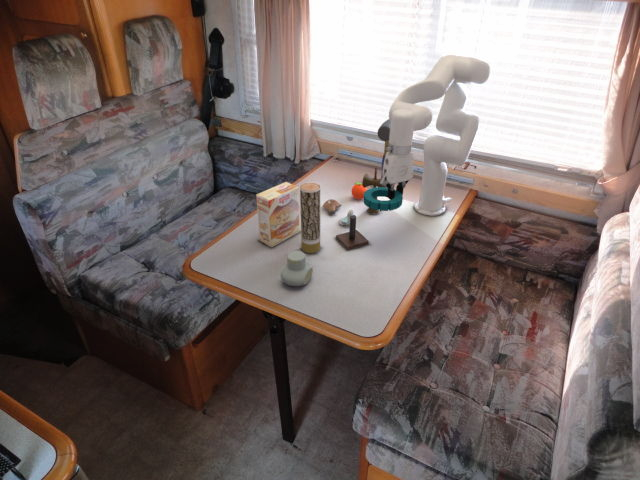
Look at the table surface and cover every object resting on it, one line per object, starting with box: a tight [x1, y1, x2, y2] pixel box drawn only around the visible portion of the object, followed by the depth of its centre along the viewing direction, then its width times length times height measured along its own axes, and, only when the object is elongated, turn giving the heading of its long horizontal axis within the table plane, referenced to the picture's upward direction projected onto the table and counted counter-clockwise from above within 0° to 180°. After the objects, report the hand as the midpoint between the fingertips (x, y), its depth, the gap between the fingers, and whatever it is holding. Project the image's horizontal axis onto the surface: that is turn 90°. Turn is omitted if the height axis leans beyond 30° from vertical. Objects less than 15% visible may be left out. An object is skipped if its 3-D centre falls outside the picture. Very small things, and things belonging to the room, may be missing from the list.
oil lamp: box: [322, 198, 342, 216], centre depth 186 cm, size 9×4×8 cm
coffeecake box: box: [255, 181, 300, 248], centre depth 164 cm, size 15×7×20 cm, turn 137°
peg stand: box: [335, 214, 370, 251], centre depth 164 cm, size 9×9×10 cm
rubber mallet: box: [376, 118, 391, 179], centre depth 201 cm, size 12×8×30 cm, turn 156°
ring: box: [362, 186, 404, 212], centre depth 154 cm, size 13×13×3 cm
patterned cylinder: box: [299, 182, 321, 254], centre depth 156 cm, size 7×7×25 cm
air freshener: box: [279, 250, 314, 287], centre depth 144 cm, size 11×8×10 cm
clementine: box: [350, 182, 368, 200], centre depth 195 cm, size 8×7×7 cm
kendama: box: [361, 167, 387, 215], centre depth 180 cm, size 6×10×20 cm, turn 69°
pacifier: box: [338, 209, 358, 226], centre depth 177 cm, size 7×6×6 cm
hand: (394, 197), depth 157 cm, fingers closed on ring, 2 cm apart
